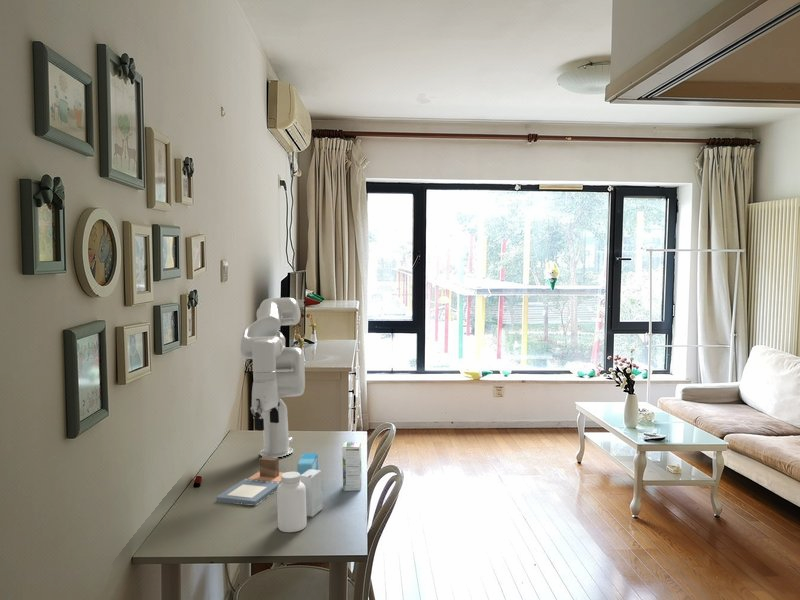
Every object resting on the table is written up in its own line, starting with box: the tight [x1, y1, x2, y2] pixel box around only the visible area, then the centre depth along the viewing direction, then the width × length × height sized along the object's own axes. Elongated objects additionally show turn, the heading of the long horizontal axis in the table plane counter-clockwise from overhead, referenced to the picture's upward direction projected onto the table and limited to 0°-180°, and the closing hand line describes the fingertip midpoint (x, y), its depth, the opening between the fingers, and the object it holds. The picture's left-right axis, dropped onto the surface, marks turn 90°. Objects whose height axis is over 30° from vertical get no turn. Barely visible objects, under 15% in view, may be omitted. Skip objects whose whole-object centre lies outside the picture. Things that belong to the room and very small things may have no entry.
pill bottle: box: [276, 471, 307, 533], centre depth 169 cm, size 8×8×15 cm
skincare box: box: [300, 469, 323, 518], centre depth 178 cm, size 6×4×12 cm
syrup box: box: [341, 441, 363, 492], centre depth 197 cm, size 6×6×14 cm
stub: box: [247, 457, 285, 482], centre depth 206 cm, size 8×12×8 cm, turn 72°
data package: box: [296, 452, 319, 475], centre depth 192 cm, size 12×4×12 cm, turn 179°
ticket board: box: [215, 478, 281, 505], centre depth 194 cm, size 16×14×2 cm
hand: (267, 426), depth 204 cm, fingers open, 9 cm apart
